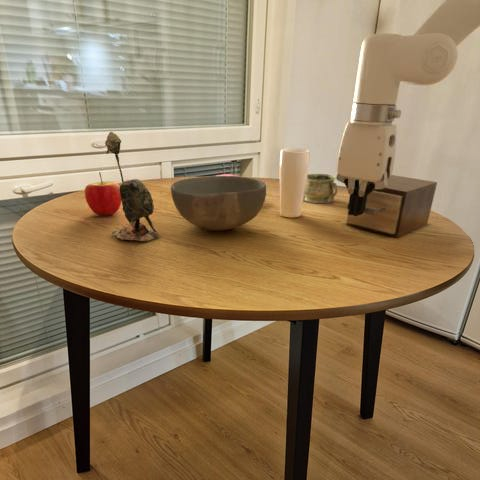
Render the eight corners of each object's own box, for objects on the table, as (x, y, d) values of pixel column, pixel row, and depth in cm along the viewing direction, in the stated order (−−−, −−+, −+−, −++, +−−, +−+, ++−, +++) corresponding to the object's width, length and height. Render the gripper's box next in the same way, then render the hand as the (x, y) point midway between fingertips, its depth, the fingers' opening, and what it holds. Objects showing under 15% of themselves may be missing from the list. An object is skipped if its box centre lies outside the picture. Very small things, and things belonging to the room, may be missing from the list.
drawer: (381, 239, 86) (388, 200, 82) (334, 226, 93) (338, 190, 89) (421, 222, 98) (429, 187, 94) (376, 211, 105) (382, 179, 101)
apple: (86, 220, 97) (78, 174, 93) (90, 210, 105) (83, 168, 100) (123, 218, 99) (117, 174, 94) (124, 209, 106) (119, 167, 101)
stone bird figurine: (132, 249, 81) (120, 136, 71) (107, 234, 89) (93, 130, 79) (169, 241, 86) (162, 134, 76) (142, 227, 93) (133, 128, 83)
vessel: (344, 201, 117) (347, 177, 114) (326, 206, 112) (329, 182, 109) (309, 193, 124) (311, 171, 121) (290, 198, 119) (292, 175, 116)
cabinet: (397, 237, 90) (406, 191, 85) (346, 224, 98) (352, 181, 93) (427, 224, 99) (437, 182, 94) (378, 213, 107) (385, 173, 102)
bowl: (262, 216, 103) (263, 173, 98) (266, 244, 85) (269, 193, 80) (179, 214, 103) (177, 171, 98) (166, 242, 85) (163, 191, 80)
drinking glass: (308, 214, 105) (314, 149, 98) (297, 220, 100) (303, 153, 92) (283, 210, 108) (288, 147, 101) (271, 216, 103) (275, 150, 95)
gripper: (420, 117, 76) (398, 219, 85) (347, 111, 84) (334, 204, 94) (401, 119, 71) (379, 226, 80) (326, 112, 80) (314, 209, 89)
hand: (355, 214), depth 87 cm, fingers closed
